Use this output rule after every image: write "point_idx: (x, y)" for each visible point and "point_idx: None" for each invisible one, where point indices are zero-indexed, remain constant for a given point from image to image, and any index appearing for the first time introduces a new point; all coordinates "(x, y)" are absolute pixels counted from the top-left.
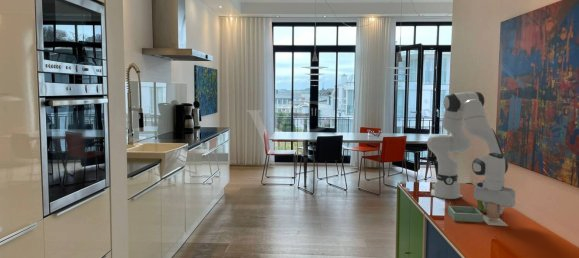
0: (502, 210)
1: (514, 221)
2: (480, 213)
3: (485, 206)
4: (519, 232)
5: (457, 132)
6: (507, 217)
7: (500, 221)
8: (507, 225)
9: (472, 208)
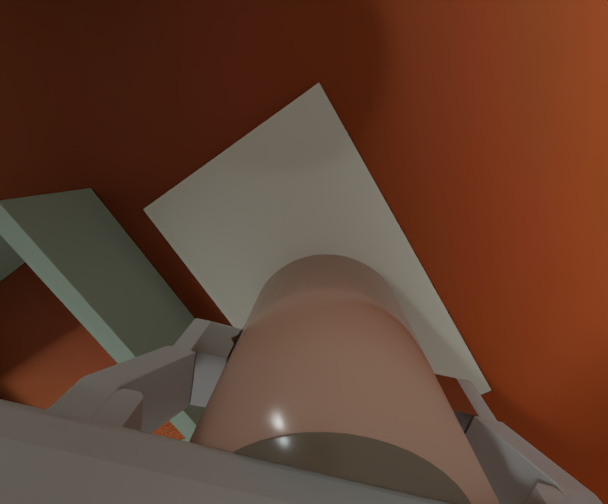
0: (490, 425)
1: (552, 174)
2: None
3: (183, 407)
4: (593, 490)
5: None
6: (453, 30)
7: (406, 303)
8: (487, 389)
9: (6, 241)
